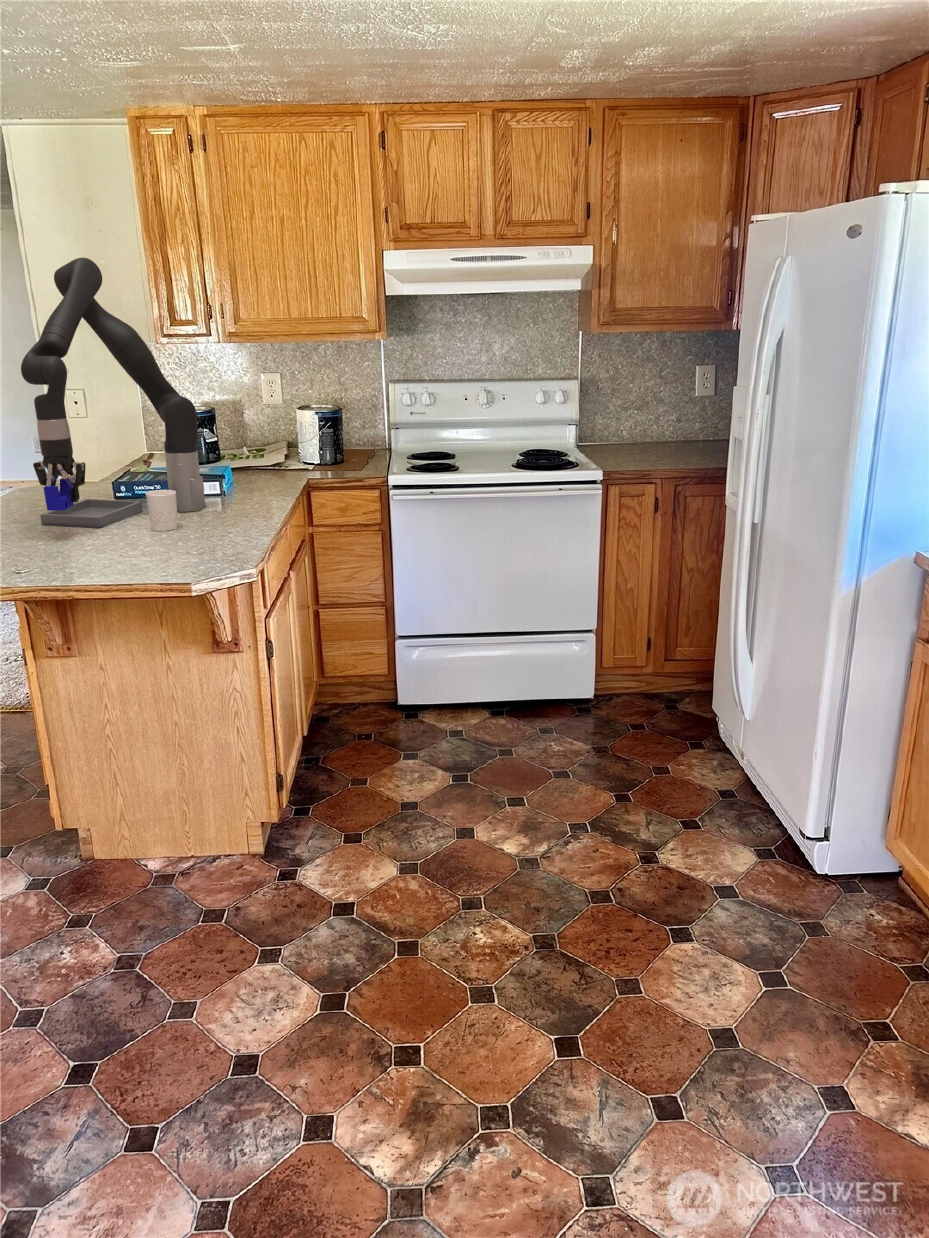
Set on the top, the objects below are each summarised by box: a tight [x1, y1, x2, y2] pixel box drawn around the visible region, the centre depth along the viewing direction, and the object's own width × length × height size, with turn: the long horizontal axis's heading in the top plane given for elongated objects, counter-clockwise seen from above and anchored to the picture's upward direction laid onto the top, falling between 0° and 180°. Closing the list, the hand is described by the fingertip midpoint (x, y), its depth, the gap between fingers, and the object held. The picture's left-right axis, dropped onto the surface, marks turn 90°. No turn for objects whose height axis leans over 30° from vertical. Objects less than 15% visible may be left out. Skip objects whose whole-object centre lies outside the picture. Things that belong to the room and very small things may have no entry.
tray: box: [40, 498, 144, 529], centre depth 264 cm, size 18×22×3 cm
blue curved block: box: [43, 477, 74, 512], centre depth 241 cm, size 12×4×6 cm, turn 2°
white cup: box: [145, 489, 178, 532], centre depth 251 cm, size 8×8×10 cm
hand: (65, 501), depth 242 cm, fingers closed on blue curved block, 5 cm apart
